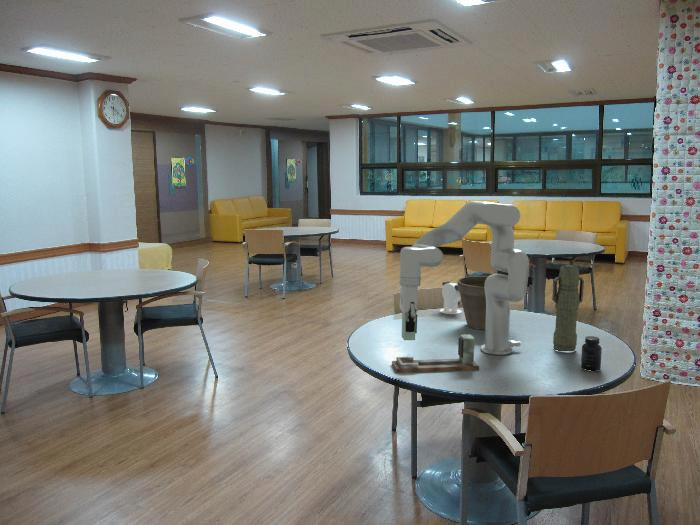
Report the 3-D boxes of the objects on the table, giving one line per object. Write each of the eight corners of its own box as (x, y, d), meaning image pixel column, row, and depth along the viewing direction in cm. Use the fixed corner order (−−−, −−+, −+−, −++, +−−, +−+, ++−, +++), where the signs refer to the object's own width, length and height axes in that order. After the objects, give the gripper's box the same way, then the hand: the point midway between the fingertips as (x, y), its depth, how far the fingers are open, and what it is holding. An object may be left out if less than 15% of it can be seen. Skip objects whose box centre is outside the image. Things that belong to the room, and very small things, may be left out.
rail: (471, 361, 227) (472, 332, 225) (479, 369, 218) (480, 339, 217) (391, 364, 224) (392, 335, 222) (396, 372, 215) (396, 342, 213)
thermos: (545, 347, 246) (550, 264, 240) (572, 346, 247) (577, 263, 242) (555, 353, 237) (560, 267, 232) (583, 352, 239) (589, 267, 233)
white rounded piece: (467, 312, 304) (468, 284, 301) (450, 315, 298) (451, 286, 295) (451, 307, 314) (452, 280, 311) (435, 310, 308) (435, 282, 306)
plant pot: (501, 336, 261) (503, 288, 258) (448, 328, 274) (449, 282, 270) (516, 323, 283) (518, 279, 279) (466, 317, 295) (467, 274, 292)
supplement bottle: (584, 364, 224) (586, 334, 222) (602, 368, 220) (605, 337, 218) (578, 369, 219) (580, 338, 217) (597, 373, 215) (599, 341, 213)
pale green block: (413, 336, 221) (414, 310, 219) (416, 340, 216) (417, 313, 214) (401, 336, 220) (402, 310, 219) (404, 340, 215) (405, 313, 214)
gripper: (395, 277, 223) (394, 324, 225) (404, 285, 206) (403, 336, 209) (415, 276, 223) (413, 323, 226) (425, 285, 207) (423, 336, 210)
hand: (408, 329), depth 217 cm, fingers closed on pale green block, 5 cm apart
